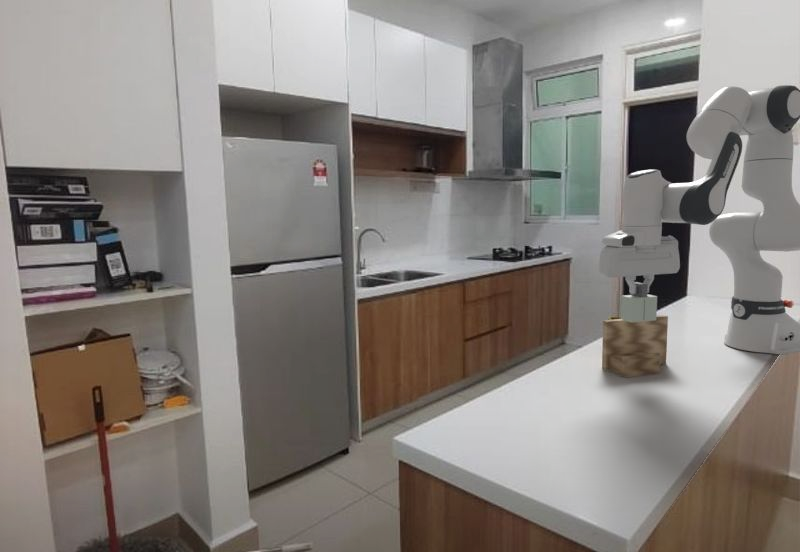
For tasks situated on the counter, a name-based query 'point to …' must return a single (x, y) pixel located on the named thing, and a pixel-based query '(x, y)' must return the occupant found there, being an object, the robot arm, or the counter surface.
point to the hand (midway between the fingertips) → (639, 293)
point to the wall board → (634, 346)
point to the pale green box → (639, 305)
